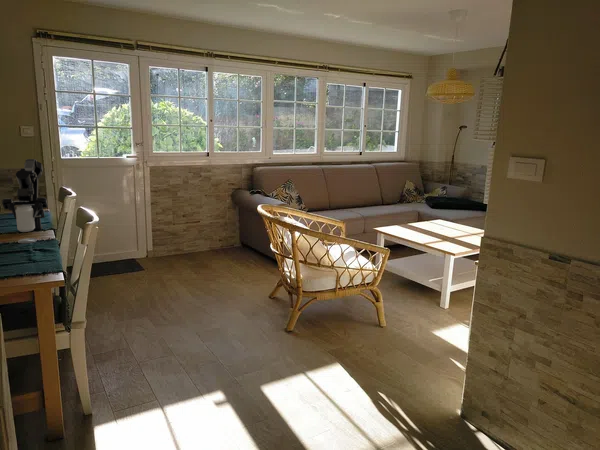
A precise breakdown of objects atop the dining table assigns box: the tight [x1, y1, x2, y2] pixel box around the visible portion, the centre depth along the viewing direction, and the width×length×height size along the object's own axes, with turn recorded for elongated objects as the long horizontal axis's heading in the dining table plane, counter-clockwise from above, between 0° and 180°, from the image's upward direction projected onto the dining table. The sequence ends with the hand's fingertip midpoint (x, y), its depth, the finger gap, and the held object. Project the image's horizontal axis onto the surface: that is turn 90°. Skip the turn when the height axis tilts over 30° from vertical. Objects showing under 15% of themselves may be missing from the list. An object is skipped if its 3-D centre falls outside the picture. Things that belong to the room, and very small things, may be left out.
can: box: [15, 205, 35, 233], centre depth 222 cm, size 8×8×12 cm
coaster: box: [17, 237, 38, 245], centre depth 224 cm, size 8×8×1 cm
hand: (24, 217), depth 220 cm, fingers closed on can, 7 cm apart
